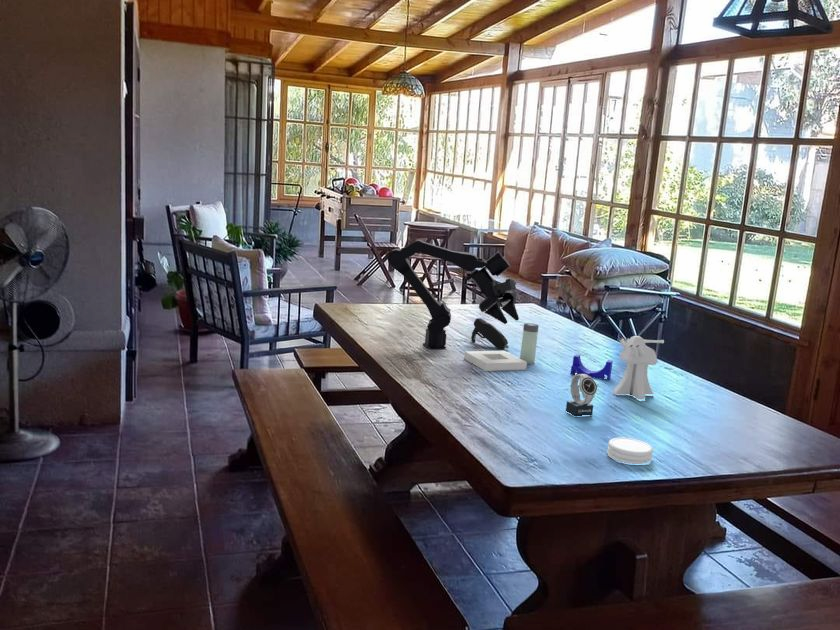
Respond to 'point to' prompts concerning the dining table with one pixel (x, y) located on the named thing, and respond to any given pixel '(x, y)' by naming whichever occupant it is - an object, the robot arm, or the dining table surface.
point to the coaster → (629, 450)
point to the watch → (588, 392)
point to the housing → (495, 360)
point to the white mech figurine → (636, 366)
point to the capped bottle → (529, 342)
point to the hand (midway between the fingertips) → (512, 321)
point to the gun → (489, 334)
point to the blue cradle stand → (580, 369)
